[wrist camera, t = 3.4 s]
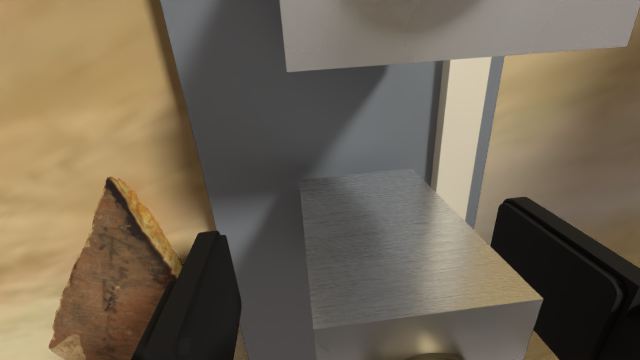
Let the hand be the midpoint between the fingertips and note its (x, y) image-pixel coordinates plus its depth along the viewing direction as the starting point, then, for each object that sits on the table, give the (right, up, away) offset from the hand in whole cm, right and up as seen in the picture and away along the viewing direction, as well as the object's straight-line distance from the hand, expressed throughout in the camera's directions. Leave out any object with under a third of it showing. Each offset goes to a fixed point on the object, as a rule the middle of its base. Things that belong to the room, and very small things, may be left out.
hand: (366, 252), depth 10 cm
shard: (-12, -3, +6) cm, 13 cm away
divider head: (0, +1, +2) cm, 2 cm away
